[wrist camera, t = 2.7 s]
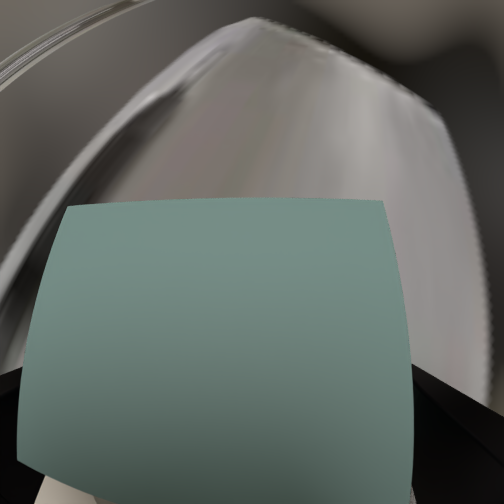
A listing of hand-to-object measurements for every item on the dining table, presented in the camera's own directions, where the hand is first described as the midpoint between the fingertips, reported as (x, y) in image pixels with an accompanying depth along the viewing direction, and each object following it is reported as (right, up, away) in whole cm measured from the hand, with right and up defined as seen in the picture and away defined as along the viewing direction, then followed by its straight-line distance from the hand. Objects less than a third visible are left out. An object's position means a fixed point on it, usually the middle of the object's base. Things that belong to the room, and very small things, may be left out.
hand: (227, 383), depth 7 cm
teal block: (0, -4, +7) cm, 8 cm away
